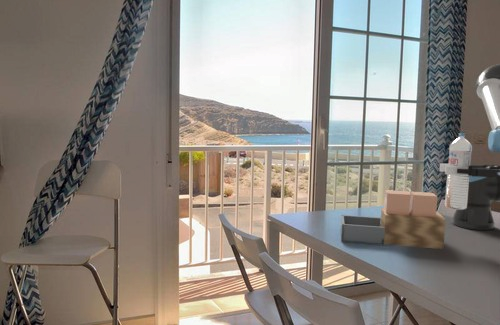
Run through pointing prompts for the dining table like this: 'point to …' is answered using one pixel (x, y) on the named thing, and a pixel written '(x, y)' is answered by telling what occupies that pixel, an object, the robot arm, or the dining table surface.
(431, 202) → the salmon pink cube
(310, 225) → the dining table surface
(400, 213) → the pink block
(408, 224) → the zigzag patterned block
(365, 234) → the tray
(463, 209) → the robot arm
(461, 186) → the water bottle
